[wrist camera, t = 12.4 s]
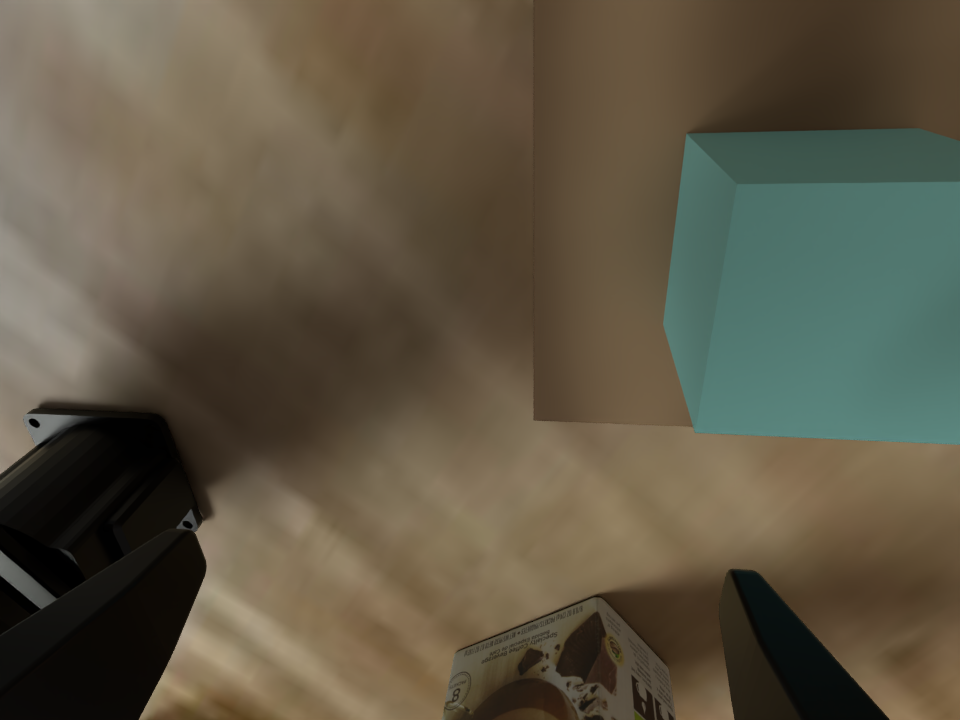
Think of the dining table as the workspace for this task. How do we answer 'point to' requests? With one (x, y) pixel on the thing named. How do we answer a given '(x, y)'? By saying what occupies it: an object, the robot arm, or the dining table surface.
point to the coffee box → (561, 672)
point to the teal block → (819, 284)
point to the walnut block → (660, 150)
